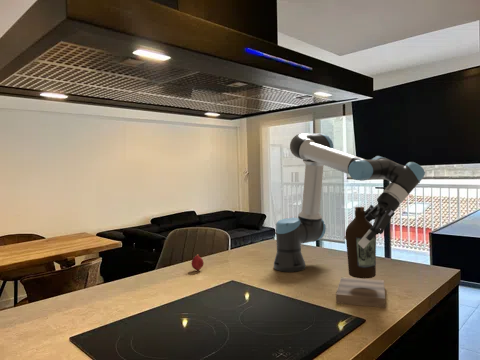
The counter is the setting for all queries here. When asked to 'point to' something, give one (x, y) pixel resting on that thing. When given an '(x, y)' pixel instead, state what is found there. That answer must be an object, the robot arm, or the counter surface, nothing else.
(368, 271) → the olive oil
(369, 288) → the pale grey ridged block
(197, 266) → the onion
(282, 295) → the counter surface
